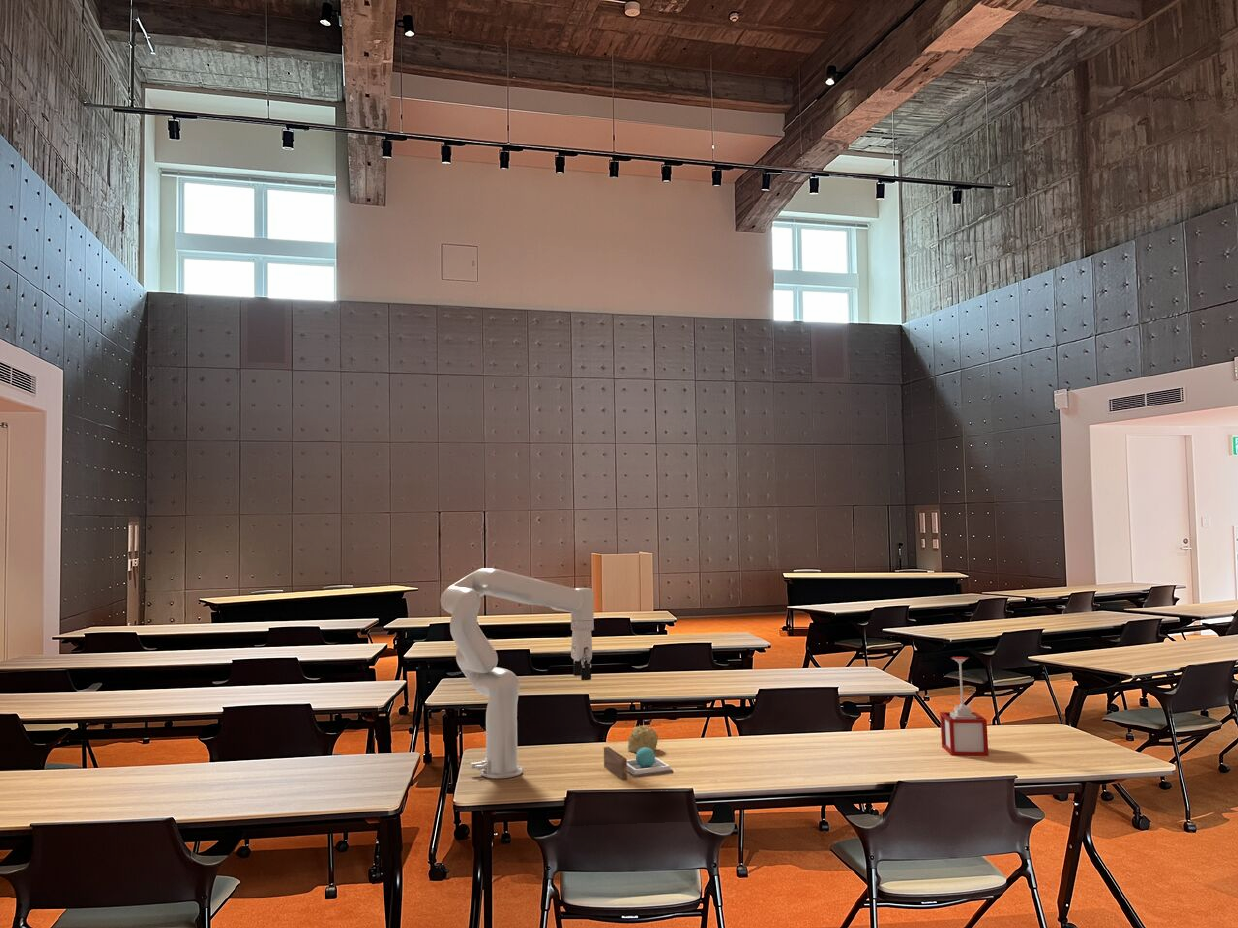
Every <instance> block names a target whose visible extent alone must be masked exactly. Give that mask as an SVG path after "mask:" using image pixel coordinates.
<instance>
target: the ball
mask: <svg viewBox="0 0 1238 928" xmlns="http://www.w3.org/2000/svg"><path fill="white" fill-rule="evenodd" d="M655 757H656V755H655V751H654V752H653V751H652V750H651V749H650V748H647V747H643V748H641V749H639V750H638V752H637V753H635V759H636V761H637V763H638V765H639V766H641V767H643V768H648V767H650V766H652V765H653V763H654V761H655Z"/></svg>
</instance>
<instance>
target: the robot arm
mask: <svg viewBox="0 0 1238 928" xmlns="http://www.w3.org/2000/svg"><path fill="white" fill-rule="evenodd" d="M483 596H491V597H493V598H498V599H503V600H507V601H511V602H516V603H518V604H519V603H520V604H526V605H531V606H540V607H541V606H544V607H549V608H551V609H552V610H554V611H559V612H567V613H570V630H571V631H572V632H571V633H572V634H571V648H570V657H571V659H572V660H573V676H574V677H580V680H581V681H591V680H592V658H593V638H592V631H594V630H595V627H594V621H595V620H594V619H595V618H594V617H595V615H594V611H595V610H594V604H595V603H594V598H595V597H594V590H593V589H592V588H590V587H575V588H573V587H569V586H567V585H566V586H565V585H561V584H558V583H553V582H549V581H545V580H541V579H538V578H535V577H530V576H526V575H522V574H518V573H514V572H510V571H506V570H502V569H498V568H492V567H490V568H488V567H485V568H484V567H482V568H479V569H477V570H475V571H473V572H471V573H469V574H468V575H466V576H464V577H463V578H461V579H460V580H458V581H456V582H454V583H453V584H451V585H450V586H448V587H446V589H445V590H444V591H443V592H442V594H441V597H440V605H441V607H442V609H443V610H444V611H445V612H447V613H448V614H451V615H450V623H449V631H450V635H451V637H452V640H453V641H454V643H455V645H456V646H457V649H456V652H455V660H456V663H457V665H458V667H459V669H460V670H461V672H462V673H463V675H464V676H465V677H466V679H467V680H468V682H469V683H470V684H471V686H472V687H473V688H474V690H475V691H476V692H477V693H478V694H480V695H481V696H484V697H487V698H488V702H487V705H486V711H485V738H486V739H485V752H486V753H485V754H486V755H485V756H486V757H483V760H481V761H479V762H477V761H476V762H470V769H471V770H476V771H480V774H481V776H482V777H484V778H487V779H494V780H496V779H497V780H499V779H510V778H513V777H514V778H515V777H517V776H520V775H521V774H523V767H522V766H521V765H518V718H517V717H518V701H519V695H520V681H519V678H518V677H517V675H516V673H514V672H513V671H512V670H509V669H506V668H503V667H498V666H497V665H498V662H499V658H498V653H497V650H496V649H495V648H494V646H493V645H492V644H491V642H490V641H489V639H488V638H487V637H486V636H485V634H484V633H483V631H482V629H481V628H480V625H479V623H478V614H479V610H480V608H481V603H482V602H481V598H482V597H483Z"/></svg>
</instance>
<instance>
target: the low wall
mask: <svg viewBox="0 0 1238 928" xmlns="http://www.w3.org/2000/svg"><path fill="white" fill-rule="evenodd" d="M603 767H604V768H605V769H607V770H608V771H609V772H610V773H611V774H613V775H614V776H616V777H617V778H618V779H619V780H621V781H627V780H628V773H627V758H626V757H624V756H623V755H622V754H620V753H619V752H617V751H616V750H614V749H613V748H611V747H609V746H605V747H603Z"/></svg>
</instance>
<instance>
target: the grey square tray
mask: <svg viewBox="0 0 1238 928" xmlns="http://www.w3.org/2000/svg"><path fill="white" fill-rule="evenodd" d="M670 773H671V774H672V773H674V770H673V769H672V768H671V765H669V764H668V763H666V762H665V761H663V760H661V759H659V758H658V757H656V756H655V761H654V763H653V765H652V766H650V767H648V768H643V767H641V766H639V765H638V763H637V761H636V758H634V759H628V760H627V775H628V774H629V775H630V776H631V777H633V778H638V777H640V778H641V777H648V776H655V775H662V774H670Z"/></svg>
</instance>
